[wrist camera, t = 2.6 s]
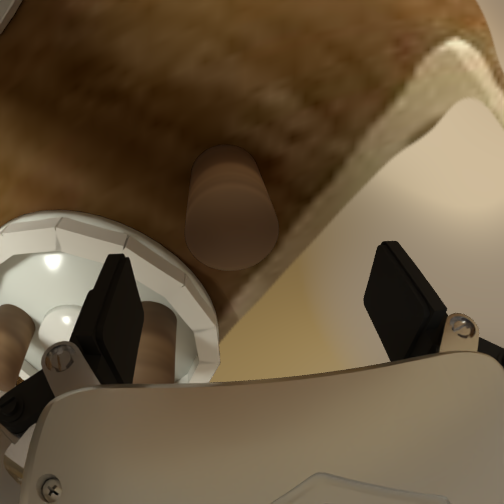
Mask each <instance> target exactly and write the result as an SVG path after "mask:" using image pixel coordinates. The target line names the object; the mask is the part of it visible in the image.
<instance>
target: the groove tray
mask: <svg viewBox="0 0 504 504" xmlns="http://www.w3.org/2000/svg"><path fill="white" fill-rule="evenodd" d="M121 253H123V254H124V255H125V257H129V258H130V261H131V265H132V269H133V273H134V277H135V281H136V285H137V288H138V292H139V296H140V299H141V301H153V302H158V303H161V304H163V305H165V306H167V307H168V308H170V309H171V310H172V311H173V312H174V314H175V316H176V318H177V330H176V352H175V383H209V381H210V380H211V378H212V376H213V375H214V373H215V371H216V370H217V368H218V366H219V365H220V352H219V327H218V320H217V315H216V311H215V309H214V306H213V303H212V301H211V298H210V297H209V295H208V293H207V292H206V290H205V288H204V287H203V285H202V284H201V282H200V281H199V280H198V279H197V277H196V276H195V275H194V274H193V272H192V271H191V270H190V269H189V268H188V267H187V266H186V265H185V264H184V263H183V262H182V261H181V260H180V259H179V258H178V257H176V256H175V255H174V254H173V253H171V252H170V251H169V250H167V249H166V248H165V247H163V246H162V245H161V244H159V243H158V242H156V241H154V240H153V239H151V238H149V237H148V236H146V235H144V234H143V233H141V232H139V231H137V230H135V229H133V228H130V227H128V226H126V225H124V224H122V223H119V222H116V221H113V220H110V219H108V218H105V217H102V216H98V215H94V214H89V213H84V212H79V211H69V210H46V211H37V212H33V213H29V214H24V215H22V216H19V217H17V218H15V219H13V220H10V221H9V222H7V223H6V224H4V225H3V226H1V227H0V306H1V305H3V304H12V305H15V306H17V307H19V308H21V309H22V310H24V311H25V312H26V313H27V314H28V315H29V316H30V317H31V318H32V320H33V322H34V324H35V332H34V335H33V337H32V340H31V342H30V345H29V348H28V351H27V353H26V356H25V359H24V362H23V365H22V368H21V370H20V373H19V376H20V377H21V378H22V379H23V380H26V379H28V378H29V377H31V376H32V375H34V374H35V373H37V372H38V371H40V370H41V369H42V366H41V359H42V356H43V354H44V352H45V351H46V350H47V348H48V347H50V346H51V345H53V344H55V343H57V342H61V341H69V340H70V337H71V334H72V331H73V329H74V326H75V324H76V321H77V318H78V316H79V313H80V311H81V308H82V306H83V303H84V301H85V299H86V296H87V294H88V292H89V291H90V290H91V289H93V288H94V286H95V283H96V281H97V279H98V276H99V274H100V272H101V269H102V267H103V265H104V263H105V260H106V258H107V256H108V255H109V254H121Z"/></svg>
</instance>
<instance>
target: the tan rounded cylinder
mask: <svg viewBox="0 0 504 504" xmlns="http://www.w3.org/2000/svg"><path fill="white" fill-rule="evenodd" d="M278 234H279V224H278V219H277V216H276V213H275V211H274V208H273V205H272V203H271V200H270V198H269V195H268V192H267V190H266V187H265V185H264V182H263V180H262V177H261V174H260V172H259V169H258V167H257V164H256V162H255V160H254V159H253V157H252V156H251V155H250V154H249V153H248V152H247V151H245V150H244V149H242V148H240V147H237V146H234V145H217V146H214V147H211V148H209V149H207V150H206V151H204V152H203V153H202V154H201V155H200V156H199V157H198V158H197V159H196V161H195V162H194V165H193V167H192V171H191V178H190V186H189V195H188V203H187V212H186V222H185V240H186V244H187V246H188V248H189V250H190V252H191V253H192V254H193V256H194V257H195V258H196V259H197V260H199V261H200V262H201V263H203V264H205V265H206V266H209V267H211V268H214V269H218V270H224V271H235V270H241V269H245V268H248V267H251V266H253V265H255V264H257V263H259V262H260V261H262V260H263V259H264V258H265V257H266V256H267V255H268V254H269V253H270V252H271V251H272V249H273V248H274V246H275V244H276V242H277V239H278Z"/></svg>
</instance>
